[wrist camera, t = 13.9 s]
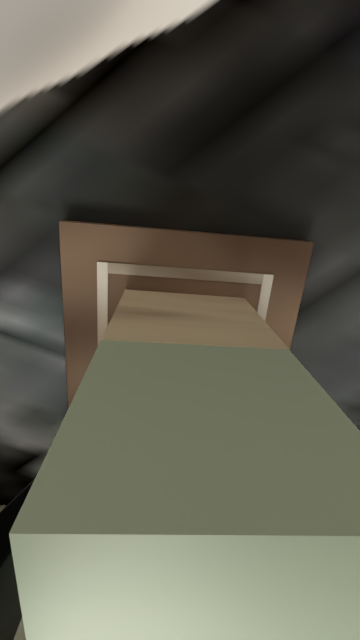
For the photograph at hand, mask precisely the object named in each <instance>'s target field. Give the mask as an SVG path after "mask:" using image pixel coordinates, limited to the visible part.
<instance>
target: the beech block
mask: <svg viewBox="0 0 360 640" xmlns="http://www.w3.org/2000/svg"><path fill="white" fill-rule="evenodd" d="M102 340H113V341H132V342H152V343H171V344H190V345H209V346H229V347H248V348H267V349H287V350H290V349H289V348H288V347H287V346H286V345H285V343H284V342H283V341H282V340H281V339H280V338H279V337H278V336H277V334H276V333H275V332H274V331H273V330H272V329H271V328H270V326H269V325H268V324H267V323H266V322H265V321H264V320H263V318H262V317H261V316H260V315H259V314H258V313H257V312H256V311H255V309H254V308H253V307H252V306H251V305H250V304H249V303H248V301H247V300H246V299H245V298H238V297H224V296H210V295H196V294H182V293H168V292H154V291H140V290H126V289H125V291H124V293H123V295H122V297H121V299H120V301H119V304H118V306H117V308H116V310H115V312H114V314H113V316H112V318H111V321H110V323H109V325H108V327H107V329H106V331H105V333H104V335H103V337H102Z"/></svg>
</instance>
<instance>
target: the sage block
mask: <svg viewBox="0 0 360 640" xmlns="http://www.w3.org/2000/svg"><path fill="white" fill-rule="evenodd" d="M9 538H10V544H11V550H12V556H13V563H14V569H15V575H16V581H17V587H18V594H19V600H20V606H21V612H22V618H23V624H24V631H25V637H26V640H360V430H359V429H358V428H357V427H356V426H355V425H354V424H353V422H352V421H351V420H350V419H349V418H348V417H347V416H346V414H345V413H344V412H343V411H342V410H341V409H340V407H339V406H338V405H337V404H336V403H335V402H334V401H333V399H332V398H331V397H330V396H329V395H328V394H327V393H326V391H325V390H324V389H323V388H322V387H321V386H320V385H319V383H318V382H317V381H316V380H315V379H314V378H313V377H312V375H311V374H310V373H309V372H308V371H307V370H306V369H305V367H304V366H303V365H302V364H301V363H300V362H299V361H298V359H297V358H296V357H295V356H294V355H293V354H292V353H291V351H290V350H287V349H267V348H248V347H229V346H209V345H190V344H171V343H152V342H132V341H113V340H101V341H100V343H99V345H98V347H97V349H96V352H95V354H94V356H93V358H92V360H91V362H90V364H89V366H88V368H87V370H86V373H85V375H84V377H83V379H82V381H81V383H80V385H79V387H78V389H77V392H76V394H75V396H74V398H73V400H72V402H71V404H70V406H69V408H68V410H67V413H66V415H65V417H64V419H63V421H62V423H61V425H60V427H59V429H58V431H57V434H56V436H55V438H54V440H53V442H52V444H51V446H50V448H49V450H48V452H47V455H46V457H45V459H44V461H43V463H42V465H41V467H40V469H39V471H38V474H37V476H36V478H35V480H34V482H33V484H32V486H31V488H30V490H29V492H28V495H27V497H26V499H25V501H24V503H23V505H22V507H21V509H20V511H19V513H18V516H17V518H16V520H15V522H14V524H13V526H12V528H11V530H10V532H9Z"/></svg>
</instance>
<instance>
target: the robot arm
mask: <svg viewBox="0 0 360 640" xmlns="http://www.w3.org/2000/svg"><path fill="white" fill-rule="evenodd" d="M34 480H35V479H34ZM34 480H33V481H32V482H31V483H30V484H29V485H28V486H27V487H26V488H25V489H24V490H23V491H22V492H21V493H19V494H18V495H17V496H16V497H15V498H14V499H13V500H12V501H11V502H10V503H9V504H8V505H7V506H6V507H5V508H4V509H3V510H2V511H1V512H0V640H14V637H15V635H16V632H17V629H18V626H19V624H20V621H21V618H22V612H21V606H20V600H19V594H18V587H17V581H16V575H15V569H14V563H13V556H12V550H11V544H10V538H9V532H10V530H11V528H12V526H13V524H14V522H15V520H16V518H17V516H18V513H19V511H20V509H21V507H22V505H23V503H24V501H25V499H26V497H27V495H28V492H29V490H30V488H31V486H32V484H33V482H34Z"/></svg>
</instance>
